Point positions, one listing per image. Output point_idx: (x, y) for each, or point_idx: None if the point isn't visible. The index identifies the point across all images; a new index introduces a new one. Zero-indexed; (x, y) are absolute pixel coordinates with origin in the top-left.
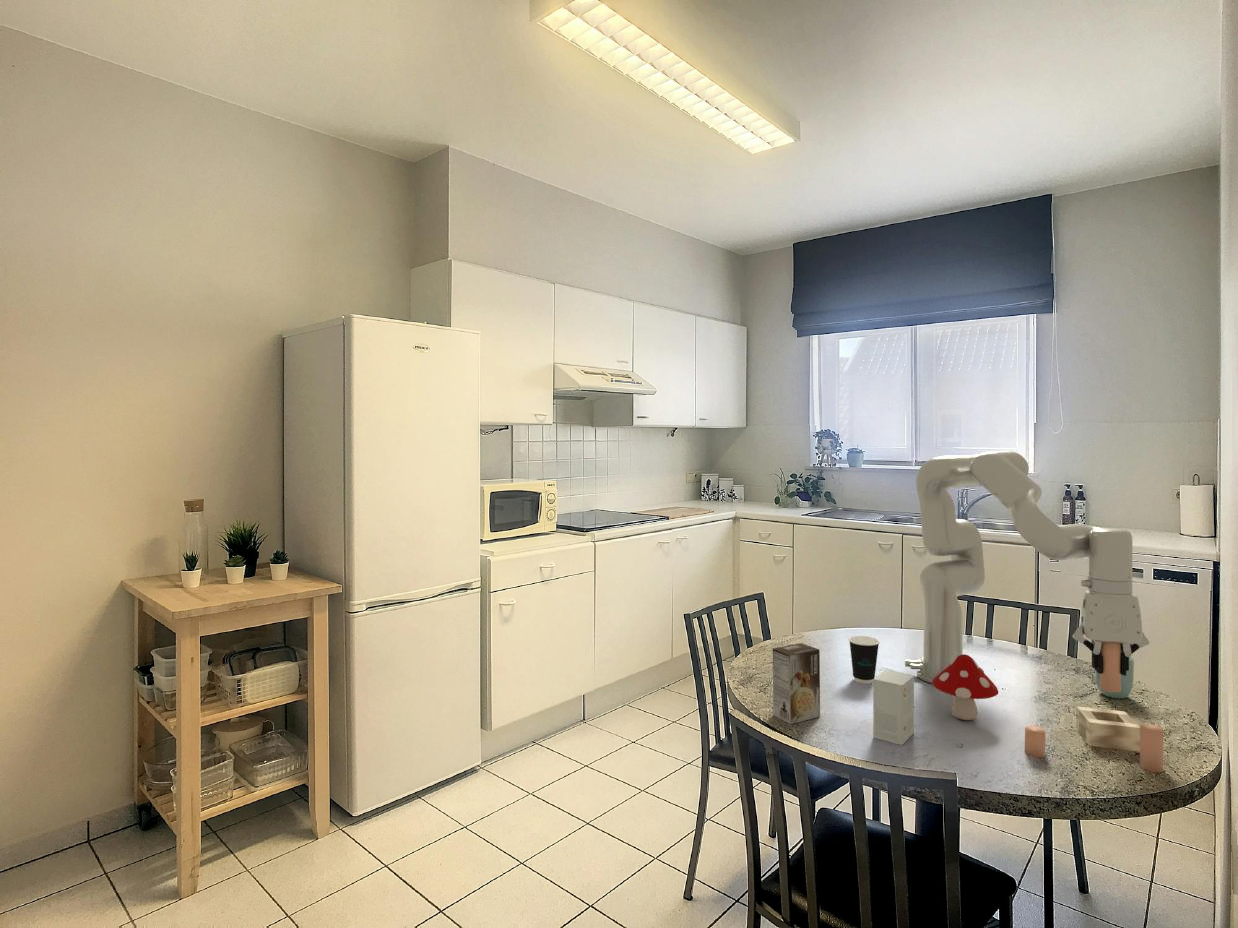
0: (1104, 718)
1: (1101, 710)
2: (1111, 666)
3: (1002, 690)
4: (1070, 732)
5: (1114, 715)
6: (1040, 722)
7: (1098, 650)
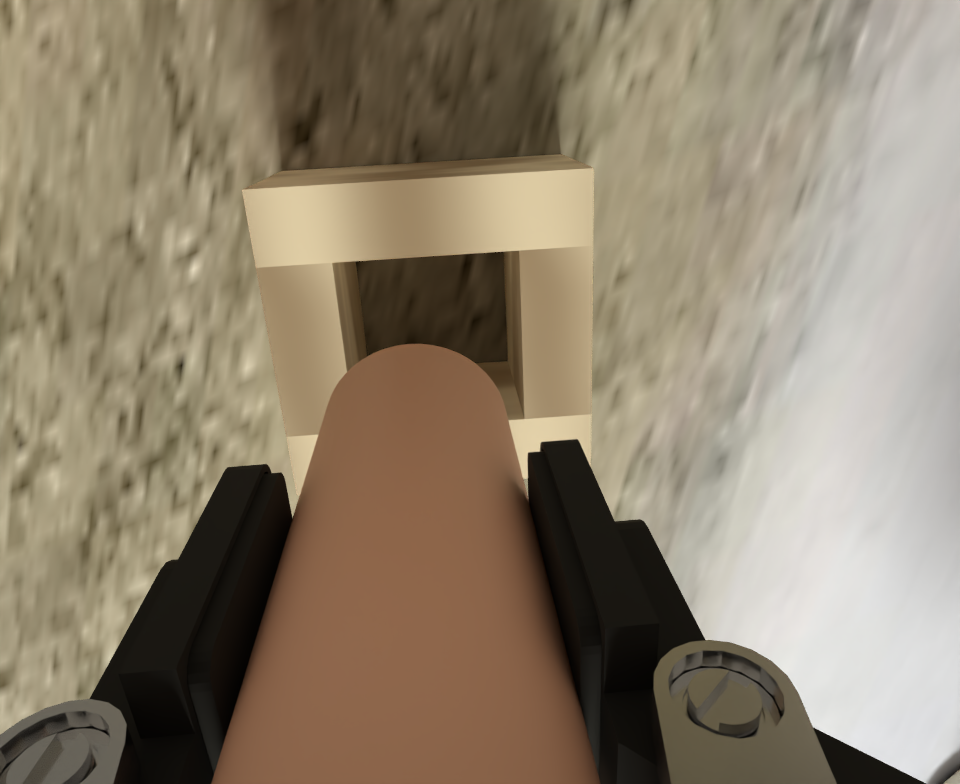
0: None
1: None
2: (422, 497)
3: None
4: (610, 334)
5: None
6: (734, 424)
7: (698, 725)
